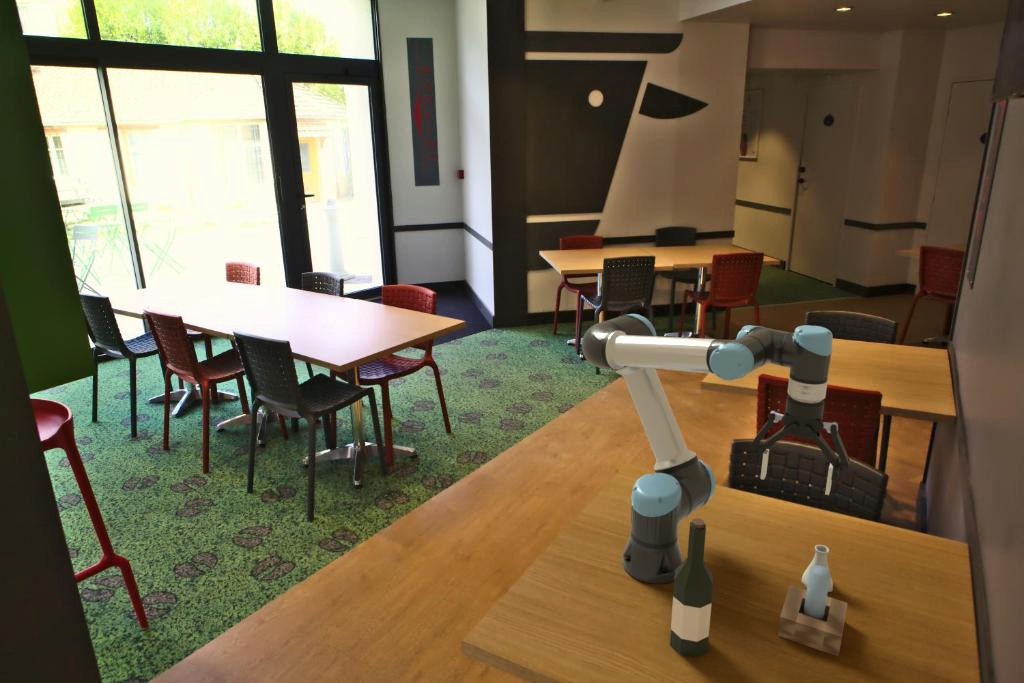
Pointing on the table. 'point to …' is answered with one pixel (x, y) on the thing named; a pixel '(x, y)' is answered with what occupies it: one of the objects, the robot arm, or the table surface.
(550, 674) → the table surface
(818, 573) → the dowel
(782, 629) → the bore block
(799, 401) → the robot arm
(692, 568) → the wine bottle
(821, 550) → the flask
